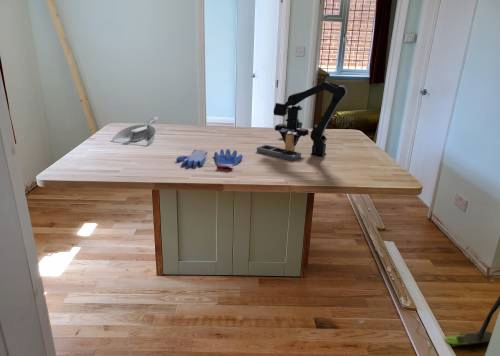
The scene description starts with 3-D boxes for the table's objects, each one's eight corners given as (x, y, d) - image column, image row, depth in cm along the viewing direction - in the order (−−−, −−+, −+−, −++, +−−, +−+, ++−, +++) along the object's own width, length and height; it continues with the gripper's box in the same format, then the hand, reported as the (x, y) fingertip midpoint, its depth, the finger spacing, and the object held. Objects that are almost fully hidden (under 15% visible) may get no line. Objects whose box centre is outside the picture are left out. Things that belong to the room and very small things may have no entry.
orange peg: (294, 149, 220) (295, 134, 217) (290, 151, 217) (292, 135, 214) (288, 148, 222) (289, 133, 219) (284, 150, 219) (286, 134, 216)
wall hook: (286, 120, 246) (300, 122, 241) (285, 134, 250) (298, 137, 244) (279, 122, 240) (293, 125, 235) (278, 137, 244) (291, 140, 238)
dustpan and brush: (110, 142, 220) (109, 125, 216) (141, 129, 249) (140, 114, 246) (147, 147, 214) (146, 130, 211) (174, 132, 244) (173, 118, 240)
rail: (300, 157, 208) (301, 153, 207) (293, 161, 201) (293, 156, 201) (264, 148, 220) (265, 144, 219) (256, 151, 214) (257, 147, 213)
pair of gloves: (172, 168, 186) (171, 161, 184) (184, 152, 209) (184, 145, 208) (238, 172, 184) (238, 165, 182) (243, 156, 207) (243, 149, 206)
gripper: (314, 117, 214) (311, 145, 220) (285, 112, 224) (283, 138, 230) (304, 121, 206) (302, 149, 211) (275, 115, 216) (273, 142, 221)
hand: (290, 144), depth 219 cm, fingers open, 6 cm apart
